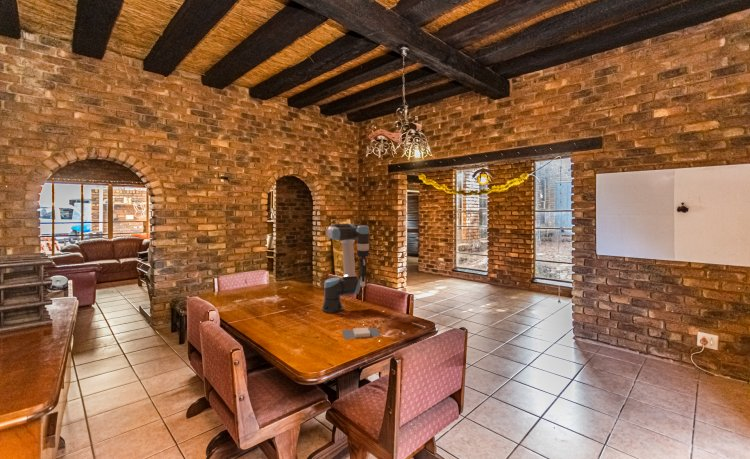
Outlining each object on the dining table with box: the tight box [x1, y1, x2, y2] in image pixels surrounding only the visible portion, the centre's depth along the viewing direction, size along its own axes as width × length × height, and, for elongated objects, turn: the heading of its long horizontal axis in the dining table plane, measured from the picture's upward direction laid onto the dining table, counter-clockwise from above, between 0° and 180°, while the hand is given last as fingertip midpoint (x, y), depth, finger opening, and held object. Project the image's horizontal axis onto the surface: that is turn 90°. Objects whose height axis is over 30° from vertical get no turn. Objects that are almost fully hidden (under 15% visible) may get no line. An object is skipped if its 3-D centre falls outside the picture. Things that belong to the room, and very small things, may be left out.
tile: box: [352, 327, 370, 339], centre depth 201 cm, size 2×9×9 cm
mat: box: [341, 327, 382, 340], centre depth 202 cm, size 14×22×1 cm, turn 102°
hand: (362, 286), depth 216 cm, fingers closed
